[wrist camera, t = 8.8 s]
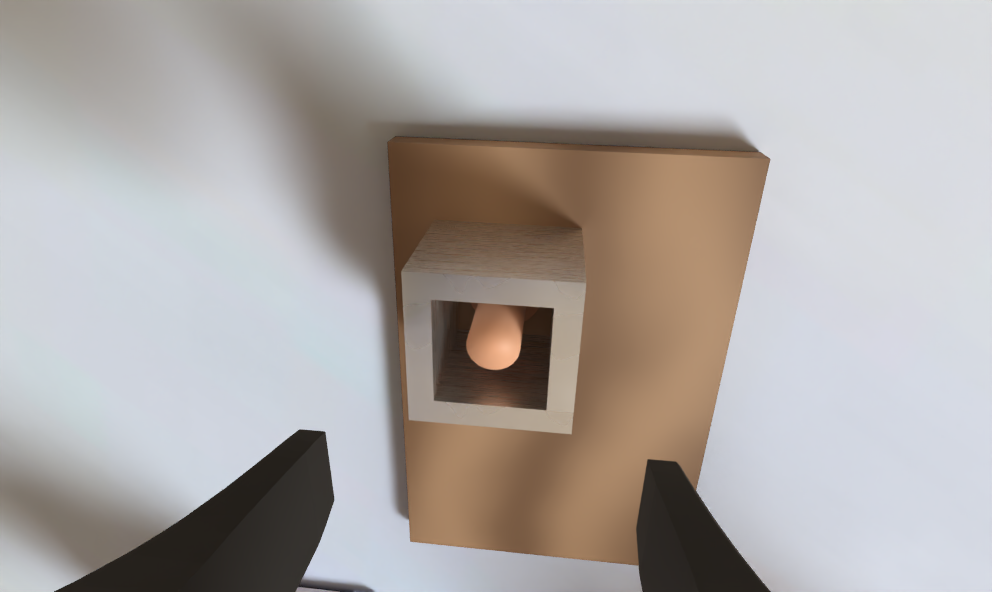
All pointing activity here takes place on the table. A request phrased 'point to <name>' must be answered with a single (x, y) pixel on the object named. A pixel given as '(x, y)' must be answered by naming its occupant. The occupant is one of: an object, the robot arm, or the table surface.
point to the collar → (493, 280)
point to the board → (583, 333)
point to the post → (497, 334)
